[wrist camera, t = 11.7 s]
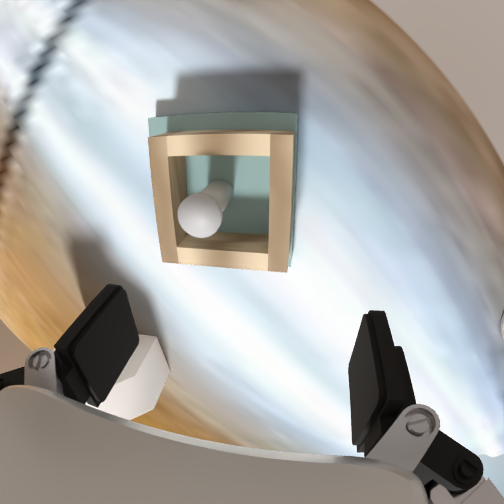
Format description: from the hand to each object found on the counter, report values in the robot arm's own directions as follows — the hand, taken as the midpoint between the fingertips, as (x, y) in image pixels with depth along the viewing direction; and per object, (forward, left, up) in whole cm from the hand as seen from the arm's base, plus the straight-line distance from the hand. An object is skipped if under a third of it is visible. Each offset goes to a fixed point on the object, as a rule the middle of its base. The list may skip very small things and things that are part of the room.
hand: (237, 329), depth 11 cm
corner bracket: (+21, +23, -19) cm, 36 cm away
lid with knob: (+5, 0, -18) cm, 19 cm away
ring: (+4, 0, -17) cm, 17 cm away
